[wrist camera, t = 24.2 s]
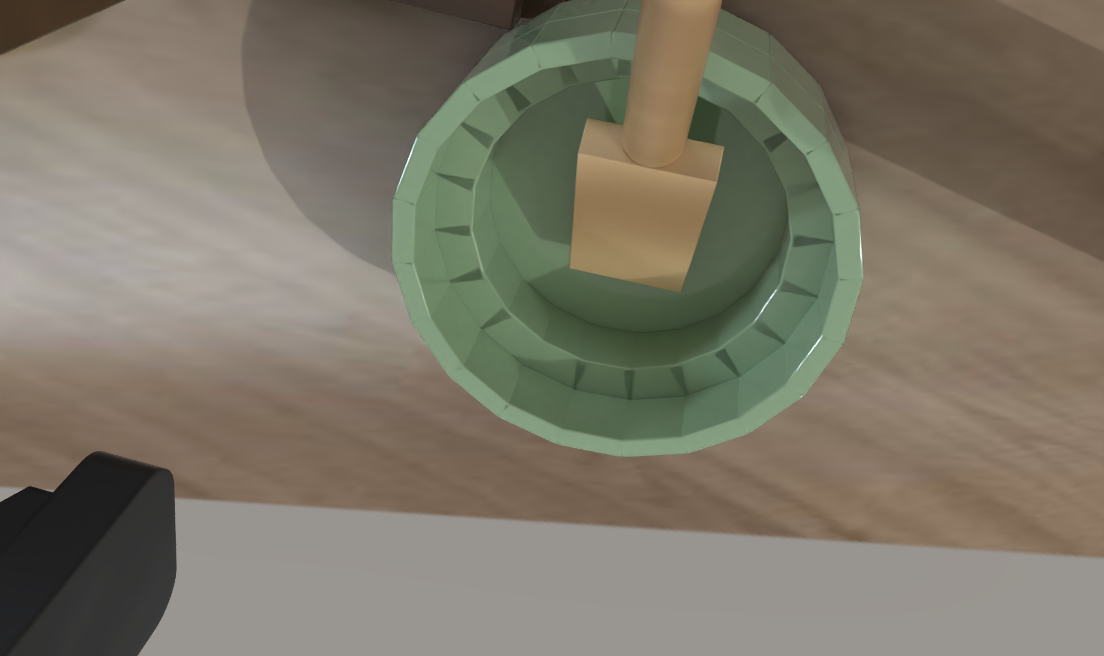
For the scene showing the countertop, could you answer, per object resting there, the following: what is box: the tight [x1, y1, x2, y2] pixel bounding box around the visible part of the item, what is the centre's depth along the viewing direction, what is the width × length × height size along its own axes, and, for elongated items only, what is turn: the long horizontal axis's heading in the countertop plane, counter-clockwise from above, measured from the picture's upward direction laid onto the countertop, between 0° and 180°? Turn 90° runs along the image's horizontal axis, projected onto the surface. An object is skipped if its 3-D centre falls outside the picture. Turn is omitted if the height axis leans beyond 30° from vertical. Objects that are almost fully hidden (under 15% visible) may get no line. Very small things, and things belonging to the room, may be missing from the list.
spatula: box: [569, 0, 724, 292], centre depth 28 cm, size 22×4×2 cm
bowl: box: [392, 0, 864, 457], centre depth 36 cm, size 16×16×6 cm
